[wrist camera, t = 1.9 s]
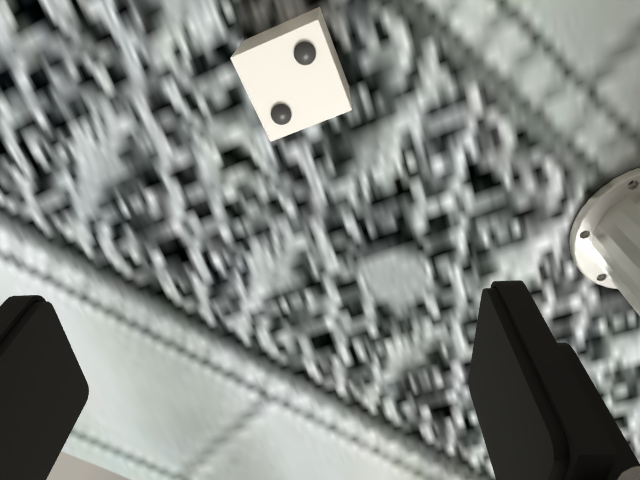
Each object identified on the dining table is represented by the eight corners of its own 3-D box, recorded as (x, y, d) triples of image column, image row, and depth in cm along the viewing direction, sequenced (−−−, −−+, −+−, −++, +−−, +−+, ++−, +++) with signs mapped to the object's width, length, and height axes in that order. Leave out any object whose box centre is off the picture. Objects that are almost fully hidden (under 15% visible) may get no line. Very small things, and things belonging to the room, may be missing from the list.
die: (319, 6, 35) (318, 19, 30) (348, 85, 38) (352, 110, 33) (244, 40, 36) (230, 58, 31) (278, 114, 39) (270, 142, 34)
